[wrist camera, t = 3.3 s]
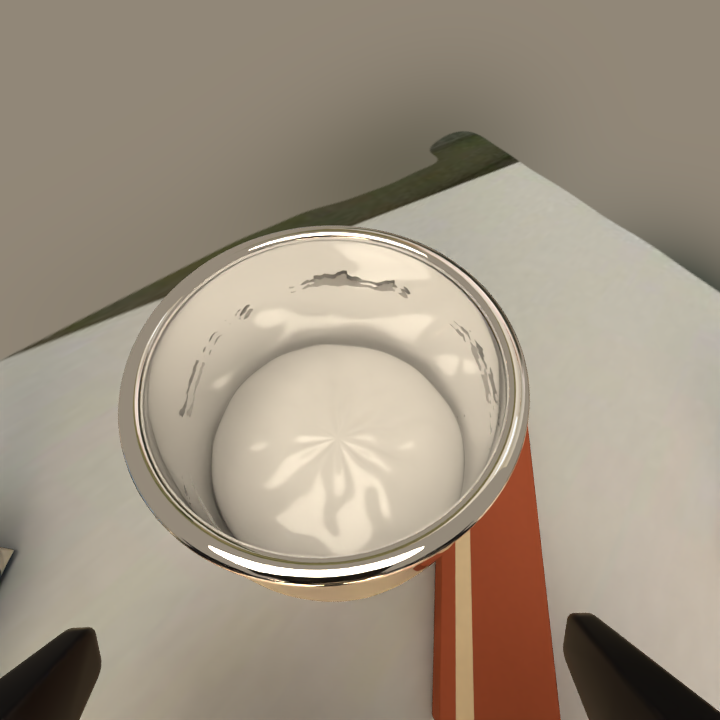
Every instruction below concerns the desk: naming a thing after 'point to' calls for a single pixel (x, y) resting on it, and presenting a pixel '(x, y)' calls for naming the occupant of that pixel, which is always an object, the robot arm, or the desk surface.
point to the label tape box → (4, 558)
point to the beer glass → (324, 410)
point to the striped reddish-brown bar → (495, 615)
